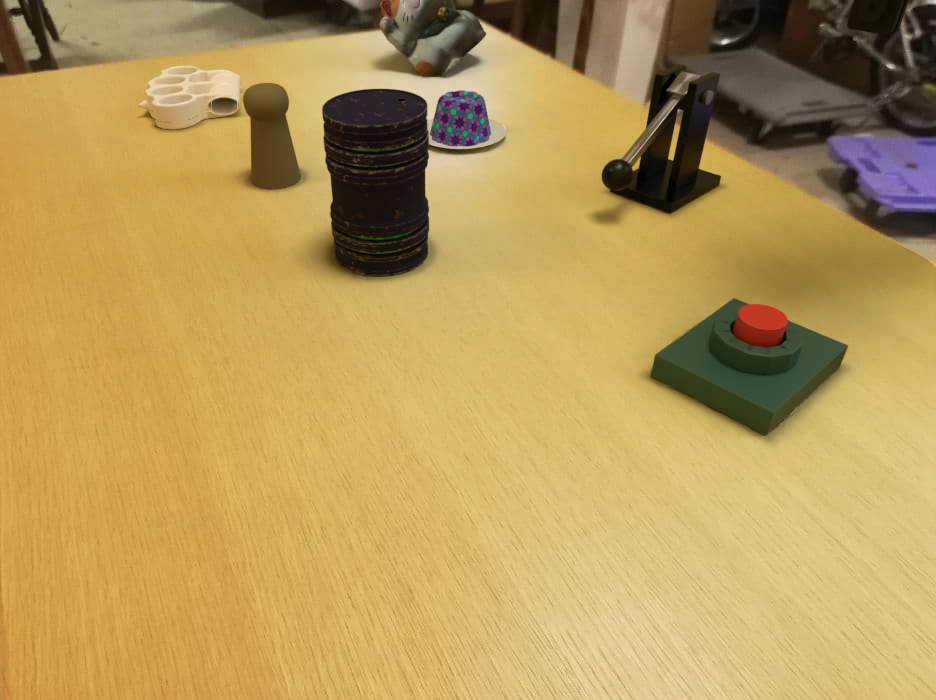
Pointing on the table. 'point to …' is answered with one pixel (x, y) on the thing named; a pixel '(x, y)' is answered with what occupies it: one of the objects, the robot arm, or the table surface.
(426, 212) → the dark purple cylinder
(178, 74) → the white brass knuckles
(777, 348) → the button box
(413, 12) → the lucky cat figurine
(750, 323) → the button
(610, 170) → the lever
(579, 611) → the table surface
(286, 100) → the brown pawn
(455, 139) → the pudding
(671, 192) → the bracket
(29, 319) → the table surface
